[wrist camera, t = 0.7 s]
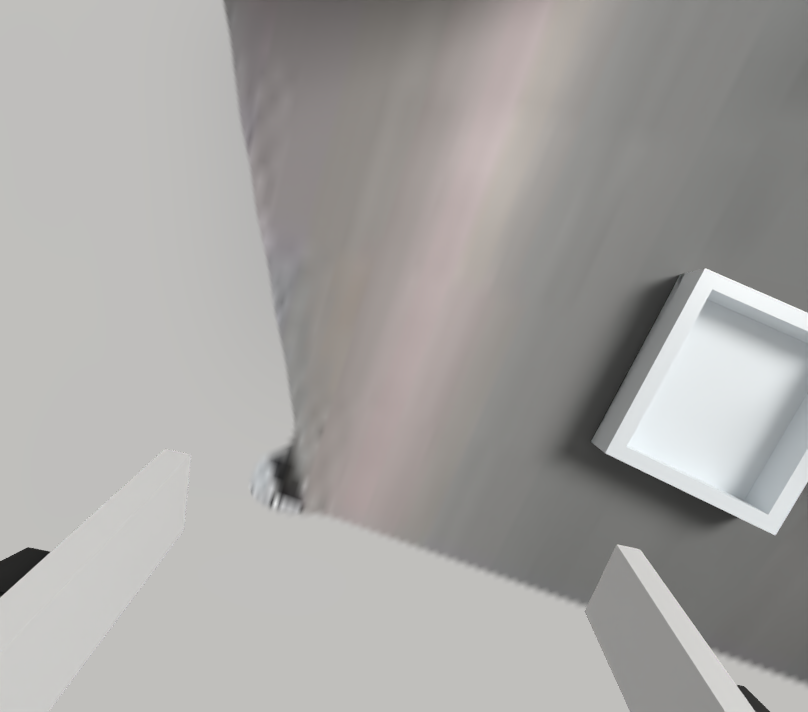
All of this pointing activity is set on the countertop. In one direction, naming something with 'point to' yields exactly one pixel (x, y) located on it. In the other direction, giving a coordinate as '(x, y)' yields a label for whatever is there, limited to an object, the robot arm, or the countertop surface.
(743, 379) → the tray
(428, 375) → the countertop surface
